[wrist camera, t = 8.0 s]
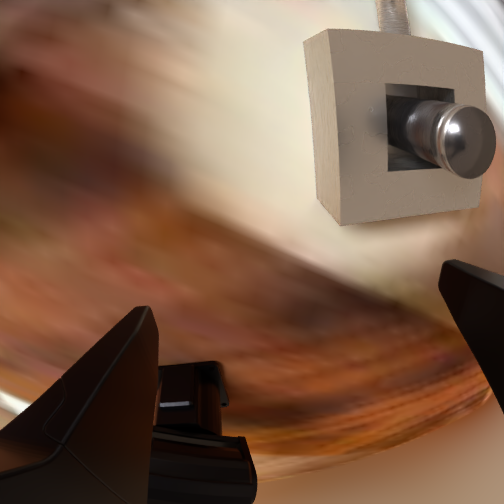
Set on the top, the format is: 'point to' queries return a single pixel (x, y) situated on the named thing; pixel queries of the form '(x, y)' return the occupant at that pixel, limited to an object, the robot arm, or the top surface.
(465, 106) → the dark metal cylinder
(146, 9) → the top surface
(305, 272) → the top surface
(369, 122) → the grey holed paddle
